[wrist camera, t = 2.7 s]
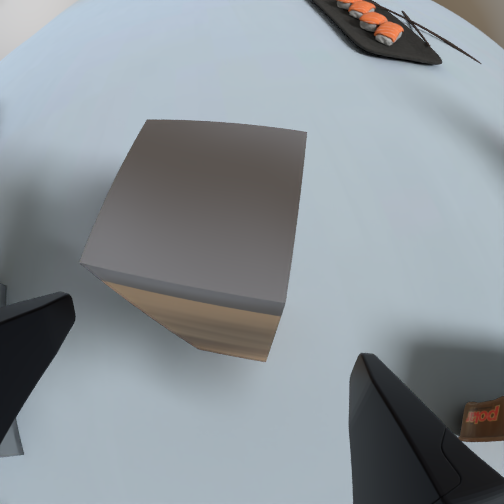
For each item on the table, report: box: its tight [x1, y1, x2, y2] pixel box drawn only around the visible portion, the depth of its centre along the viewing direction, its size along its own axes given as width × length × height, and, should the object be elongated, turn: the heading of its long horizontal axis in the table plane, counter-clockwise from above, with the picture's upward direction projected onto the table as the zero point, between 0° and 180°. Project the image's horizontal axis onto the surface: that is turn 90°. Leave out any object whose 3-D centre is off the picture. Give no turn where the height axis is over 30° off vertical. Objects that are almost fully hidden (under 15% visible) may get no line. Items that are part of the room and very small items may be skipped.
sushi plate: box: [312, 0, 481, 65], centre depth 36 cm, size 29×30×4 cm
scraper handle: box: [79, 120, 307, 362], centre depth 12 cm, size 4×4×13 cm
